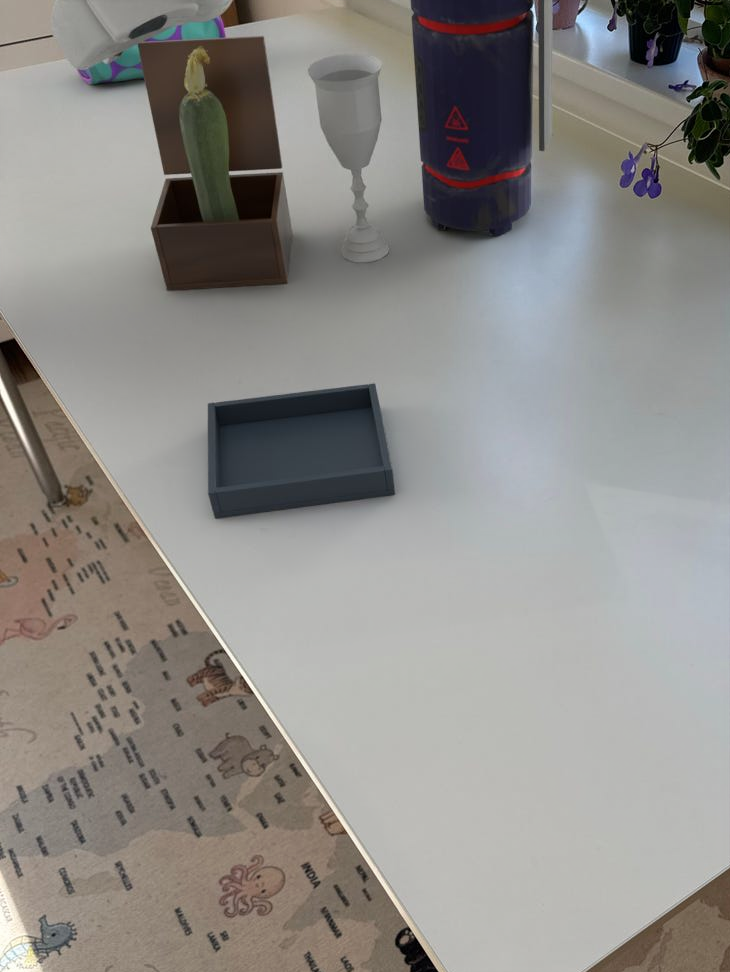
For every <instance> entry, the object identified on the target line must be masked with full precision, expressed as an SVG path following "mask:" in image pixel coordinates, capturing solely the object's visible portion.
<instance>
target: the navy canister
mask: <svg viewBox="0 0 730 972" xmlns="http://www.w3.org/2000/svg"><path fill="white" fill-rule="evenodd" d="M534 4H535V0H410V10H411V11H412V12H413V14H411V29H412V45H413V47H412V48H413V62H414V76H415V77H414V78H415V92H416V94H415V95H416V108H417V123H418V124H417V125H418V138H419V140H418V141H419V154H420V155H419V156H420V162H421V163H422V165H421V179H422V180H421V181H422V195H423V197H422V198H423V210H424V212H425V214H426V215H427V216H428V217H429V219H430V223H431V224H432V225H433V227H434V228H436V229H437V230H438V231H444V230H446V227H447V228H451V229H454V230H460V231H471V232H473V231H474V232H475V231H487V230H488V234H489V235H490V236H492V237H497V236H500V235H504V234H506V233H509V232H510V231H511V230H513V222H516V221H518V220H519V219H521V218H523V217H524V216H525V215H527V213H528V212H529V210H530V208H531V205H532V162H531V161H532V158H533V113H534V112H533V111H534V110H533V108H534V107H533V106H534V105H533V103H534V98H533V97H534V38H535V37H534V34H535V33H534V32H535V31H534V30H535V29H534V28H535V27H534V26H535V25H534V24H535V23H534V22H535V14H534V12H533V10H532V9H533V7H534ZM553 5H554V3H553V0H537V10H538V11H537V13H538V15H537V17H538V19H537V21H538V22H537V23H538V26H537V27H538V28H537V31H538V32H537V33H538V36H537V37H538V40H537V41H538V151H539V152H545V151H546V149H548V146H549V144H550V142H551V140H552V138H553Z"/></svg>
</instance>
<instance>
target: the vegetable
mask: <svg viewBox="0 0 730 972" xmlns="http://www.w3.org/2000/svg"><path fill="white" fill-rule="evenodd" d="M206 51H208V50H206ZM188 57H189V58H190V59H188V63H187V64H188V65H187V67H186V74H185V81H184V86H185V88H186V89H187V90H188V93H187V94H186V95H185V97H184V98H183V100H182V102H181V105H180V111H179V116H180V126H181V132H182V137H183V142H184V147H185V151H186V154H187V158H188V162H189V166H190V171H191V174H190V175H191V177H192V179H193V182H194V186H195V190H196V194H197V199H198V203H199V208H200V212H201V216H202V219H203V222H215V221H233V220H239V217H238V213H237V208H236V204H235V200H234V197H233V194H232V190H231V185H230V178H229V175H230V171H229V142H228V127H227V120H226V115H225V112H224V110H223V107H222V105H221V103H220V101H219V100H218V99H217V98H216V96H215V95H214V94H213V93H212V92H210V91H209V90H207V89H204V88H205V86H206V87H207V84H205V76H204V71H203V66H202V63H201V60H203V58H204V62H206V63H207V64H209V63H210V62H209V61H210V58H209V57H208V55H207V53H206V52H205V50H204V48H203V47H202V46H200V47H198V48H197V49H195V50H193V52H192V53H191V54H190V55H189V56H188Z"/></svg>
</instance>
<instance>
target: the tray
mask: <svg viewBox="0 0 730 972" xmlns="http://www.w3.org/2000/svg"><path fill="white" fill-rule="evenodd" d="M207 495H208V498H209V502H210V506H211V509H212V513H213V516H214V519H219V518H227V517H228V518H229V517H234V516H242V515H243V516H244V515H250V514H258V513H265V512H272V511H273V512H274V511H280V510H281V511H282V510H288V509H295V508H302V507H311V506H317V505H325V504H335V503H341V502H348V501H356V500H363V499H371V498H378V497H384V496H386V497H387V496H393V495H396V490H395V478H394V470H393V465H392V460H391V455H390V450H389V445H388V439H387V436H386V430H385V424H384V419H383V414H382V410H381V405H380V400H379V395H378V391H377V385H376V383H367V384H357V385H349V386H341V387H332V388H324V389H316V390H315V389H314V390H307V391H300V392H292V393H291V392H289V393H283V394H282V393H281V394H275V395H274V394H273V395H266V396H258V397H249V398H241V399H233V400H225V401H217V402H208V403H207Z"/></svg>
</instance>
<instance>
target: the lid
mask: <svg viewBox="0 0 730 972" xmlns="http://www.w3.org/2000/svg"><path fill="white" fill-rule="evenodd" d="M265 40H266V39H265V35H254V36H253V35H252V36H250V35H249V36H232V37H226V38H209V39H189V40H169V41H149V42H141V43H139V44H137V45H138V50H139V55H140V60H141V65H142V69H143V74H144V78H143V79H144V83H145V88H146V93H147V98H148V103H149V108H150V114H151V117H152V123H153V127H154V132H155V137H156V141H157V142H156V143H157V148H158V152H159V157H160V161H161V167H162V171H163V175H164V176H170V175H173V176H174V175H187V174H188V175H191V171H190V166H189V162H188V158H187V154H186V151H185V147H184V142H183V137H182V132H181V126H180V116H179V111H180V105H181V102H182V100H183V98H184V97H185V95H186V94H187V93H188V90H187V89H186V88H185V86H184V81H185V74H186V67H187V65H188V64H187V63H188V59H190V58H189V57H188V56H189V55H190V54H191V53H192V52H193V50H195V49H197V48H198V47H200V46H202V47H203V48H204V50H205V52H206V53H207V55H208V57H209V58H210V61H209V62H210V63H209V64H207V63H206V62H204V58H203V60H201V63H202V66H203V71H204V76H205V84H207V87H206V86H205V88H204V89H207V90H209V91H210V92H212V93H213V94H214V95H215V96H216V98H217V99H218V100H219V101H220V103H221V105H222V107H223V110H224V112H225V115H226V120H227V127H228V142H229V172H244V171H247V172H248V171H262V170H263V171H264V170H265V171H266V170H281V169H282V168H283V163H282V153H281V147H280V141H279V140H280V139H279V133H278V127H277V126H278V125H277V119H276V112H275V105H274V104H275V103H274V97H273V90H272V83H271V76H270V69H269V63H268V55H267V48H266V47H267V46H266V41H265ZM206 50H208V51H206Z"/></svg>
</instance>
